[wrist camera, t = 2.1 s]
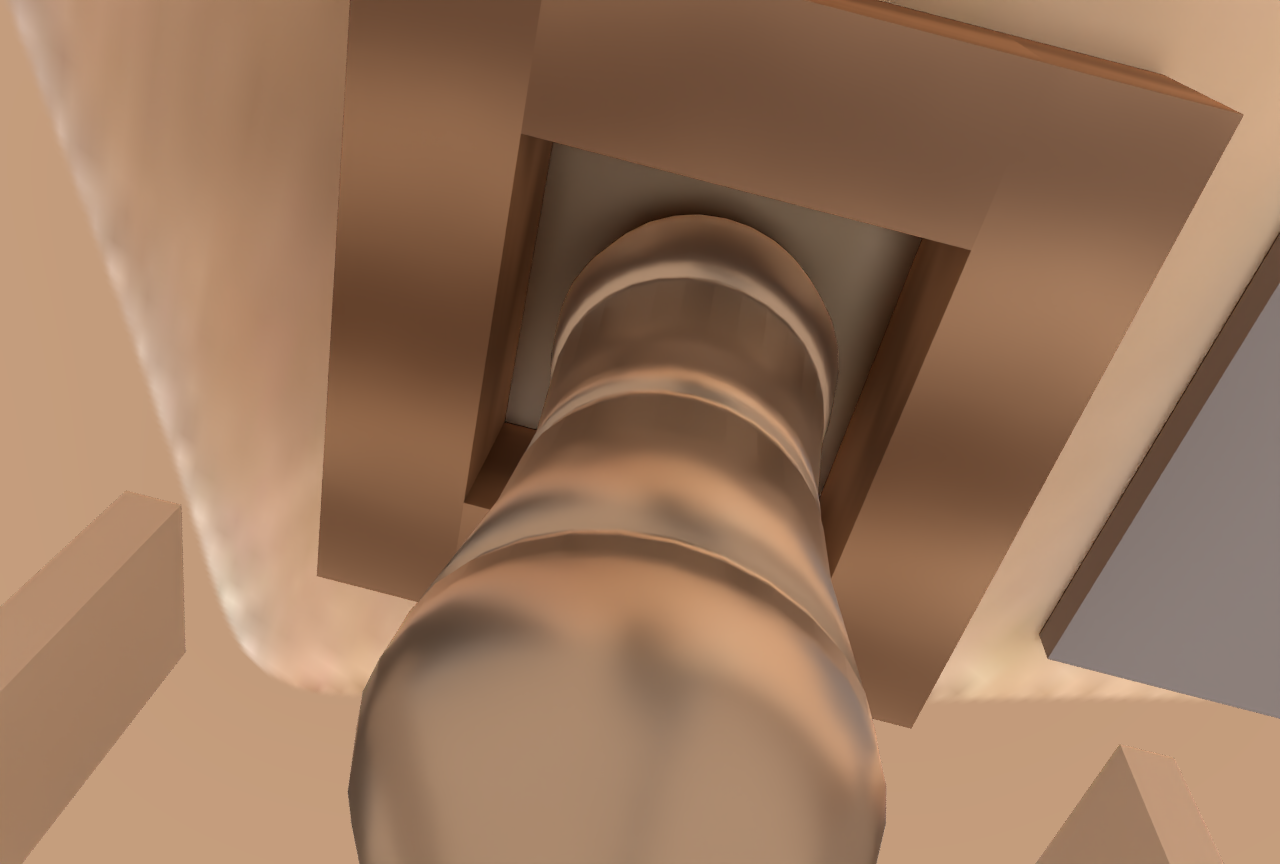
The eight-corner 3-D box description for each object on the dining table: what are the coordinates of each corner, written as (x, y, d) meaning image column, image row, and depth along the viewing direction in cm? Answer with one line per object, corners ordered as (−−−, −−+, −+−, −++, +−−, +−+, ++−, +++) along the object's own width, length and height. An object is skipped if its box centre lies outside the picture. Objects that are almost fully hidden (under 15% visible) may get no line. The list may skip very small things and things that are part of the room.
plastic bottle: (668, 469, 27) (469, 1549, 9) (523, 271, 24) (-103, 1238, 7) (880, 363, 24) (1135, 1550, 7) (743, 133, 22) (619, 1080, 5)
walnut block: (429, -118, 20) (356, -117, 17) (1163, 74, 20) (1243, 114, 17) (373, 491, 28) (317, 576, 25) (894, 625, 28) (911, 728, 25)
